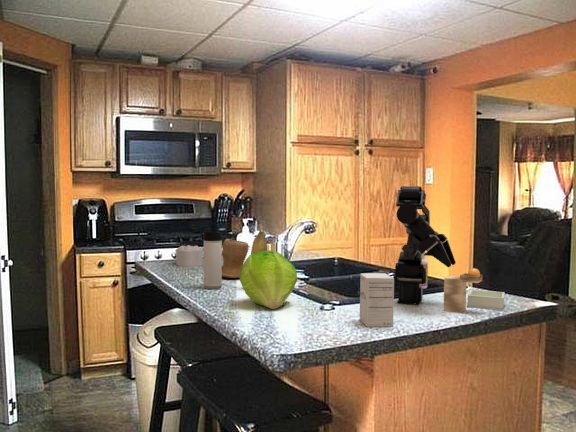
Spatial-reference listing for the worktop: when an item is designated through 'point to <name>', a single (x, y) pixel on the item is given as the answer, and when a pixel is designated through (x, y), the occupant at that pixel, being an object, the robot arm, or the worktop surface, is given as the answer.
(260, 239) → the vegetable
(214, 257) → the travel mug
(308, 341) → the worktop surface
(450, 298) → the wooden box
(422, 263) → the supplement bottle
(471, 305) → the tray
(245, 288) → the lettuce
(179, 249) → the lumpy-topped squat cylinder
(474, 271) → the ball
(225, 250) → the stone cup
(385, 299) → the supplement box
